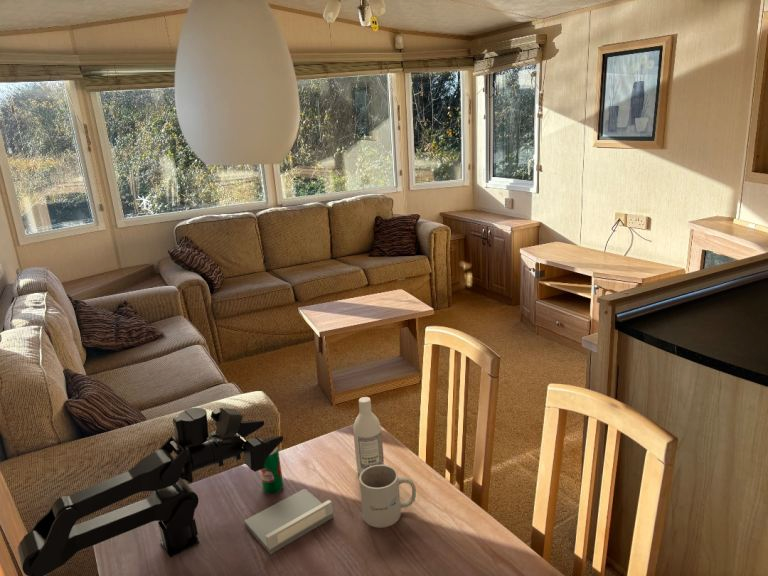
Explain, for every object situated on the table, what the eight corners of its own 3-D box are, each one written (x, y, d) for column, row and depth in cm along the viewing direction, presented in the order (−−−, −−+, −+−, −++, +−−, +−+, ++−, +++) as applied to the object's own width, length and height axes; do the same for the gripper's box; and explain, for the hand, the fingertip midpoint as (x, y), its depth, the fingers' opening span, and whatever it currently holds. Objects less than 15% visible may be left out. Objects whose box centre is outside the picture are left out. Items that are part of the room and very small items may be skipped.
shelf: (270, 555, 116) (268, 538, 114) (244, 525, 125) (242, 509, 124) (334, 517, 125) (332, 502, 124) (305, 492, 134) (303, 477, 133)
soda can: (258, 492, 136) (251, 449, 132) (271, 480, 140) (265, 438, 136) (275, 497, 133) (268, 454, 130) (287, 485, 137) (281, 443, 134)
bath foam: (389, 470, 140) (384, 400, 134) (366, 481, 137) (359, 409, 131) (375, 458, 146) (369, 389, 140) (352, 467, 142) (345, 398, 136)
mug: (361, 528, 121) (357, 489, 118) (364, 501, 130) (360, 465, 127) (417, 526, 121) (414, 487, 118) (416, 500, 129) (414, 463, 126)
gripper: (224, 435, 112) (292, 413, 122) (190, 403, 126) (253, 385, 136) (228, 484, 115) (293, 458, 125) (194, 447, 129) (255, 426, 139)
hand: (273, 430), depth 131 cm, fingers open, 9 cm apart
